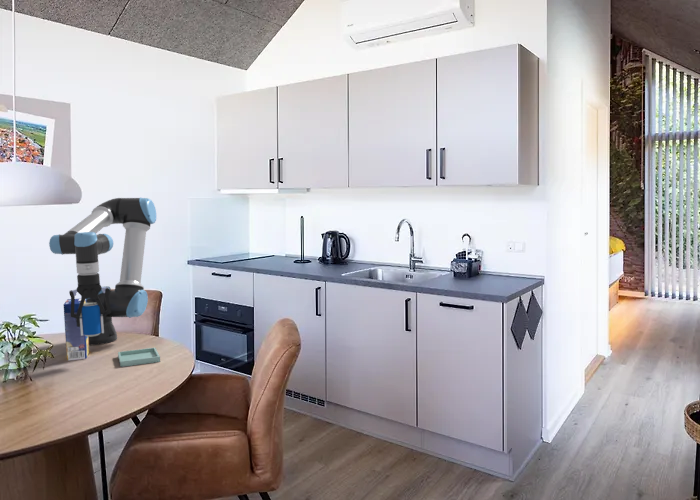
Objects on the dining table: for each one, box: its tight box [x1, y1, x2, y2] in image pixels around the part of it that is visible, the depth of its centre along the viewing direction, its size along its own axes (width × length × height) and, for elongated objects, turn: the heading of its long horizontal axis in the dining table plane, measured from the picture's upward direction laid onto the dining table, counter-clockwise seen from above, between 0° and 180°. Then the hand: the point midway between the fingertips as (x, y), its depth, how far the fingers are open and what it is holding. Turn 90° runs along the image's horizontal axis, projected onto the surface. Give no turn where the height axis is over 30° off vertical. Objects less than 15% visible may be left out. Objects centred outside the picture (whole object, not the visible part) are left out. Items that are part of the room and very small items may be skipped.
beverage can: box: [81, 302, 102, 337], centre depth 211 cm, size 6×6×12 cm
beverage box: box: [63, 298, 90, 361], centre depth 221 cm, size 7×11×22 cm, turn 19°
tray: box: [117, 347, 161, 368], centre depth 217 cm, size 14×14×2 cm
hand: (92, 333), depth 212 cm, fingers closed on beverage can, 6 cm apart
